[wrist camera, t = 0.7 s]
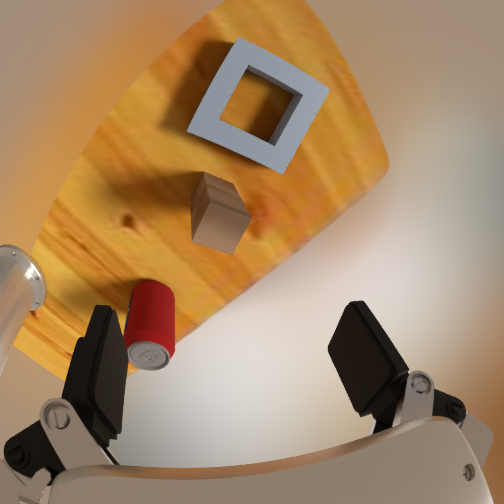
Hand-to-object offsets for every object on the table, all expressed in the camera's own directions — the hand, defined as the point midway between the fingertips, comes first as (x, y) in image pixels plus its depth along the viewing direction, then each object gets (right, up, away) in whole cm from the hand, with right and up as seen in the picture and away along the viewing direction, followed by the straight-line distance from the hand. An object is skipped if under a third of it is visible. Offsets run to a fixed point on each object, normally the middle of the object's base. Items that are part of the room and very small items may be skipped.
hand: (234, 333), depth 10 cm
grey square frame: (+1, +20, +18) cm, 27 cm away
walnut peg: (-4, +11, +23) cm, 26 cm away
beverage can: (-14, -3, +29) cm, 32 cm away
